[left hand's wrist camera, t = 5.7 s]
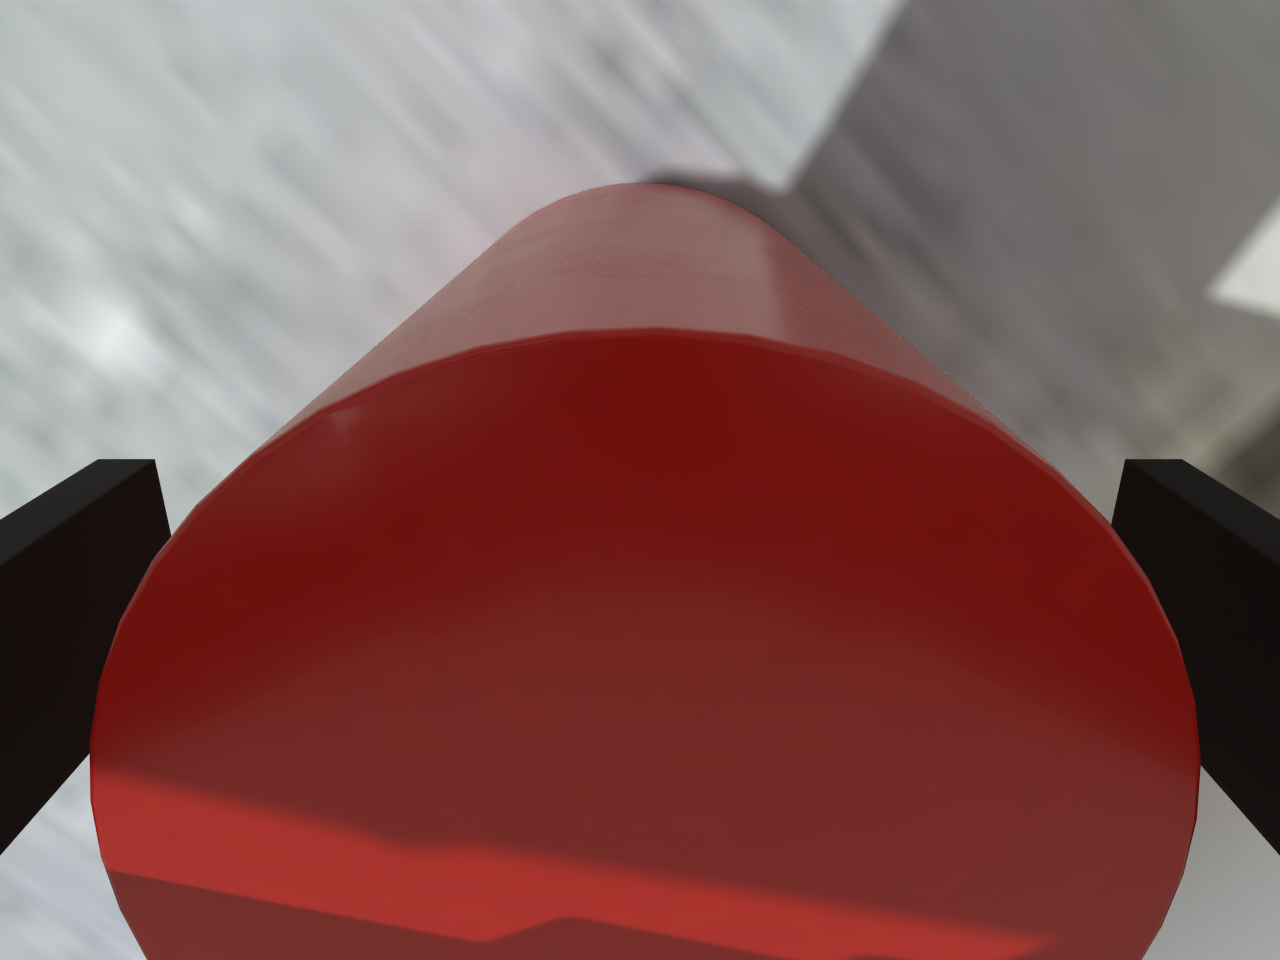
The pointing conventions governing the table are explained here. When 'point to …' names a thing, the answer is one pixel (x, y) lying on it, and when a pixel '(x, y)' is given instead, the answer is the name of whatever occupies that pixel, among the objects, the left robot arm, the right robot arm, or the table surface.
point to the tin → (644, 643)
